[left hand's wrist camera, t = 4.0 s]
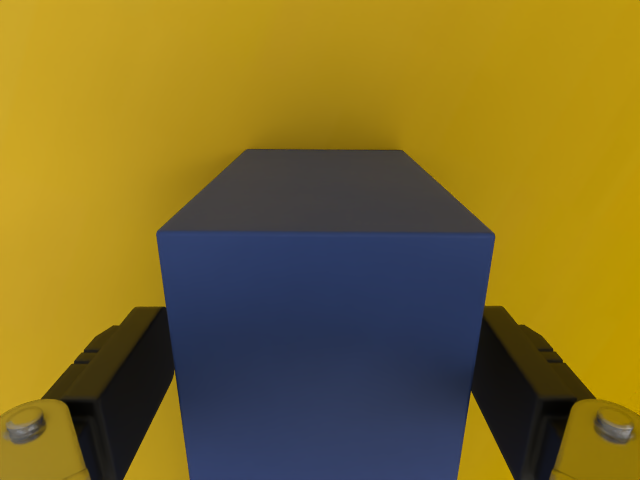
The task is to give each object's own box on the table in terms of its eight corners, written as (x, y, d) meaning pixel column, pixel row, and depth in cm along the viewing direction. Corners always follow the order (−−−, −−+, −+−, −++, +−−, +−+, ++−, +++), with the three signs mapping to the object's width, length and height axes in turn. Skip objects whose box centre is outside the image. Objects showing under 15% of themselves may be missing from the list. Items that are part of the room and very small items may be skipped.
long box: (245, 149, 17) (153, 231, 8) (403, 149, 17) (497, 233, 8) (268, 553, 25) (236, 824, 16) (374, 554, 25) (402, 826, 16)
